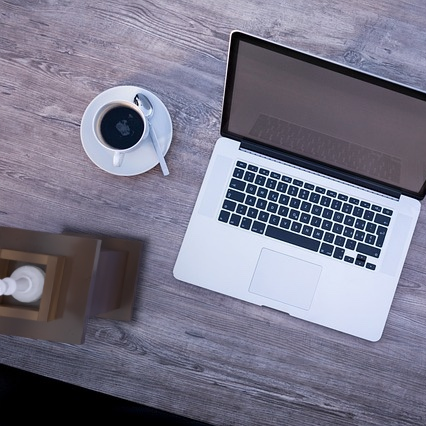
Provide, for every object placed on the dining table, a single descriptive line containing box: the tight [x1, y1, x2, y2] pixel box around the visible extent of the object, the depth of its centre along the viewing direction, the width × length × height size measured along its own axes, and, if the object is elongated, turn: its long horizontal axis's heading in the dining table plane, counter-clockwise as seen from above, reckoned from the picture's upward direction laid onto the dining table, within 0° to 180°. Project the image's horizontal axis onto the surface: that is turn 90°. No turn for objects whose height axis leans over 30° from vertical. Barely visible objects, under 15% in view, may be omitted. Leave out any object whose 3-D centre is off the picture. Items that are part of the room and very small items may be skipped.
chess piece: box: [0, 265, 45, 303], centre depth 71 cm, size 5×5×10 cm
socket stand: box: [0, 225, 102, 346], centre depth 76 cm, size 16×14×4 cm
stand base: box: [61, 230, 145, 323], centre depth 90 cm, size 14×14×24 cm
